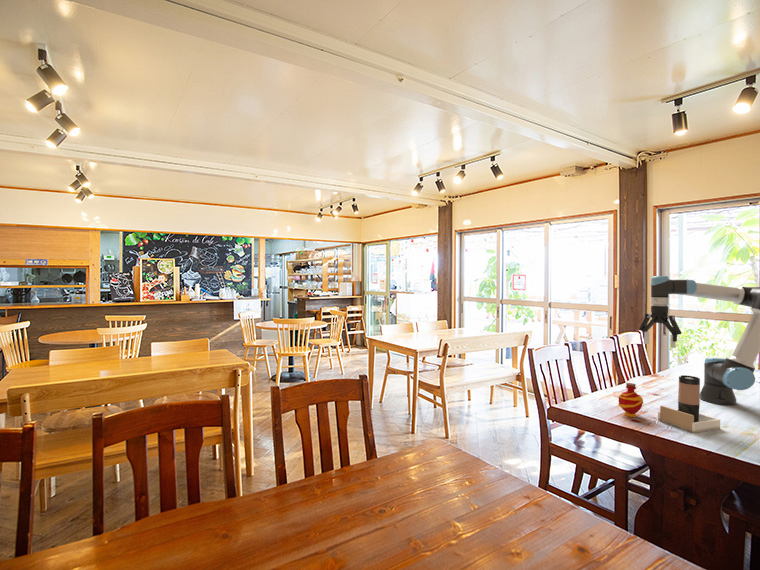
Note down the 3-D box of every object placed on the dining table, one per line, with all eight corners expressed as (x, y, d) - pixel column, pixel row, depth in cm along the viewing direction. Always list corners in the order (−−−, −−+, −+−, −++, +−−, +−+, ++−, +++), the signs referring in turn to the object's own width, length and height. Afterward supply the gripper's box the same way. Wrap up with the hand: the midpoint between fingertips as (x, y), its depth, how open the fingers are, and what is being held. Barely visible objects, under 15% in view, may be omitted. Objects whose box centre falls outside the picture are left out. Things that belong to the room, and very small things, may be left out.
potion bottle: (635, 420, 185) (635, 388, 185) (613, 413, 194) (613, 382, 194) (648, 416, 190) (648, 385, 190) (626, 410, 199) (626, 380, 199)
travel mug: (702, 425, 176) (704, 379, 175) (683, 423, 177) (684, 378, 177) (693, 419, 183) (694, 375, 183) (674, 417, 185) (675, 374, 184)
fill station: (682, 416, 190) (682, 402, 190) (720, 428, 175) (720, 412, 175) (657, 420, 185) (658, 405, 185) (694, 433, 170) (694, 416, 170)
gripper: (632, 304, 220) (631, 342, 221) (680, 307, 197) (679, 350, 197) (641, 303, 223) (641, 341, 223) (690, 306, 200) (689, 348, 200)
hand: (659, 345), depth 210 cm, fingers open, 13 cm apart
